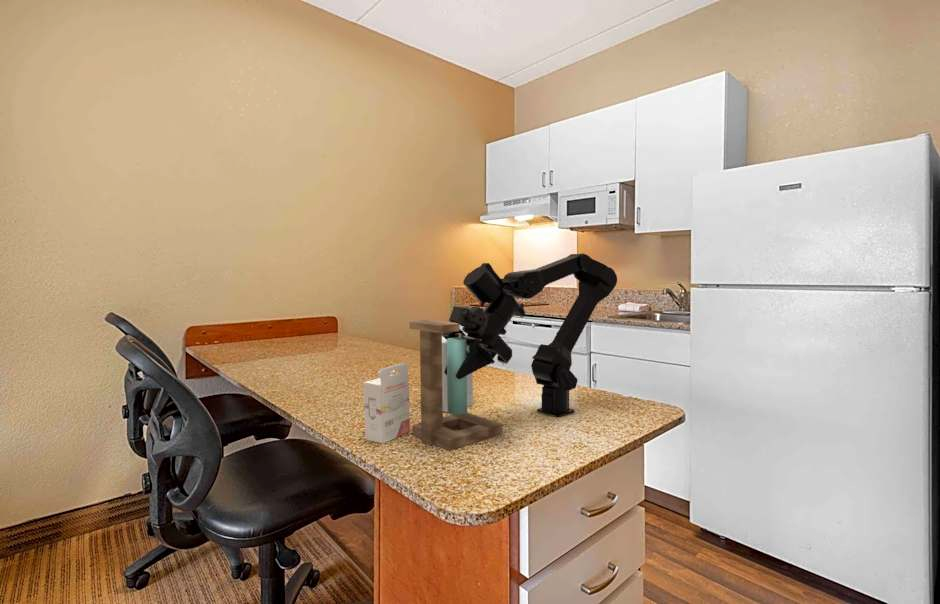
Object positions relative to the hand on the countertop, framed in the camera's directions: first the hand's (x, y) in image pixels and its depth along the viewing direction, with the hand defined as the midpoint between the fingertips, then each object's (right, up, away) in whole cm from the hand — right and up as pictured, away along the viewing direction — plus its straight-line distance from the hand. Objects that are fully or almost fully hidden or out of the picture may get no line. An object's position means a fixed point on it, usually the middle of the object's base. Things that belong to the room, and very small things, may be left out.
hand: (451, 376), depth 96 cm
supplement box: (-2, -11, +23) cm, 26 cm away
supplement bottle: (-16, -12, +16) cm, 25 cm away
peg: (+1, -8, +1) cm, 8 cm away
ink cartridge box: (-13, -13, +1) cm, 18 cm away
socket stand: (+1, -12, +1) cm, 12 cm away
